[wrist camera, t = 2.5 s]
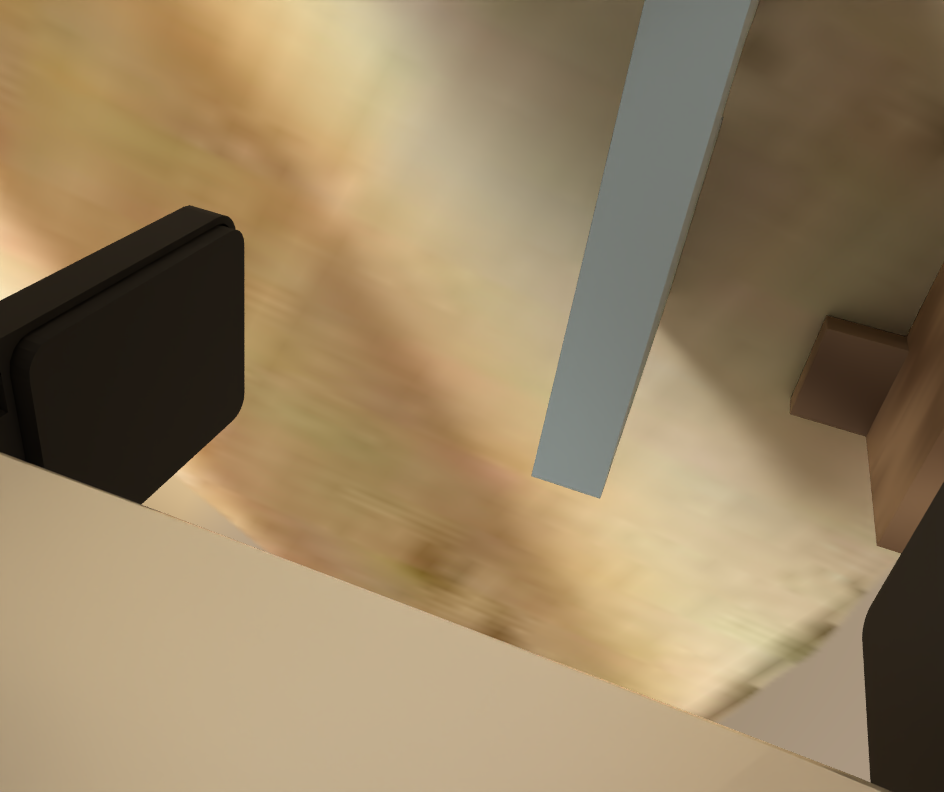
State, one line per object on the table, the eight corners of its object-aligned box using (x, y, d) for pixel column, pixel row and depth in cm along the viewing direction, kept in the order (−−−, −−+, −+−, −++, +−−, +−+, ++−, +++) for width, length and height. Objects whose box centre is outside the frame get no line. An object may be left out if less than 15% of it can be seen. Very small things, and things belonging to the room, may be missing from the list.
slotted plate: (767, -261, 25) (731, -367, 14) (836, -250, 25) (856, -350, 14) (621, 282, 35) (531, 475, 24) (668, 295, 35) (600, 498, 24)
